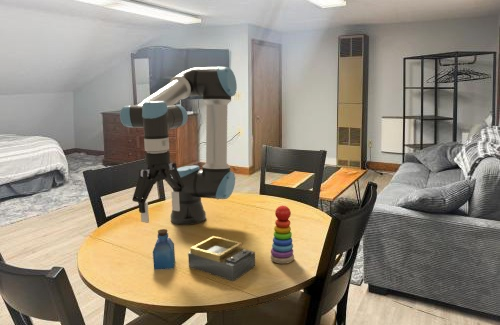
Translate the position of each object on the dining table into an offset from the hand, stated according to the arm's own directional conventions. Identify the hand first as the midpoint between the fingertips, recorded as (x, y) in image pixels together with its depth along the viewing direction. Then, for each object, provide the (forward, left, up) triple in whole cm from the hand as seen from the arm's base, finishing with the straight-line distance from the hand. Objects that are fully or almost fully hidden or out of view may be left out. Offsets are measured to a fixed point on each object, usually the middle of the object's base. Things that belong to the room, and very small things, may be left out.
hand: (161, 216), depth 136 cm
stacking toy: (+31, +24, -17) cm, 43 cm away
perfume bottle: (0, 0, -17) cm, 17 cm away
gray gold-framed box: (+17, +9, -17) cm, 26 cm away
